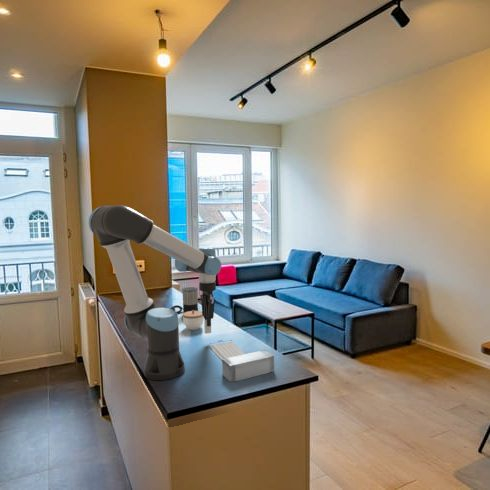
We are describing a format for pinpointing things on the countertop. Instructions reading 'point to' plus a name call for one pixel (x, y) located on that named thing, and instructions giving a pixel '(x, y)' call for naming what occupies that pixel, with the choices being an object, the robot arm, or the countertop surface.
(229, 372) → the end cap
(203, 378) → the countertop surface
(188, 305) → the milk frother
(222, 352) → the baseboard
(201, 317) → the lidded jar
